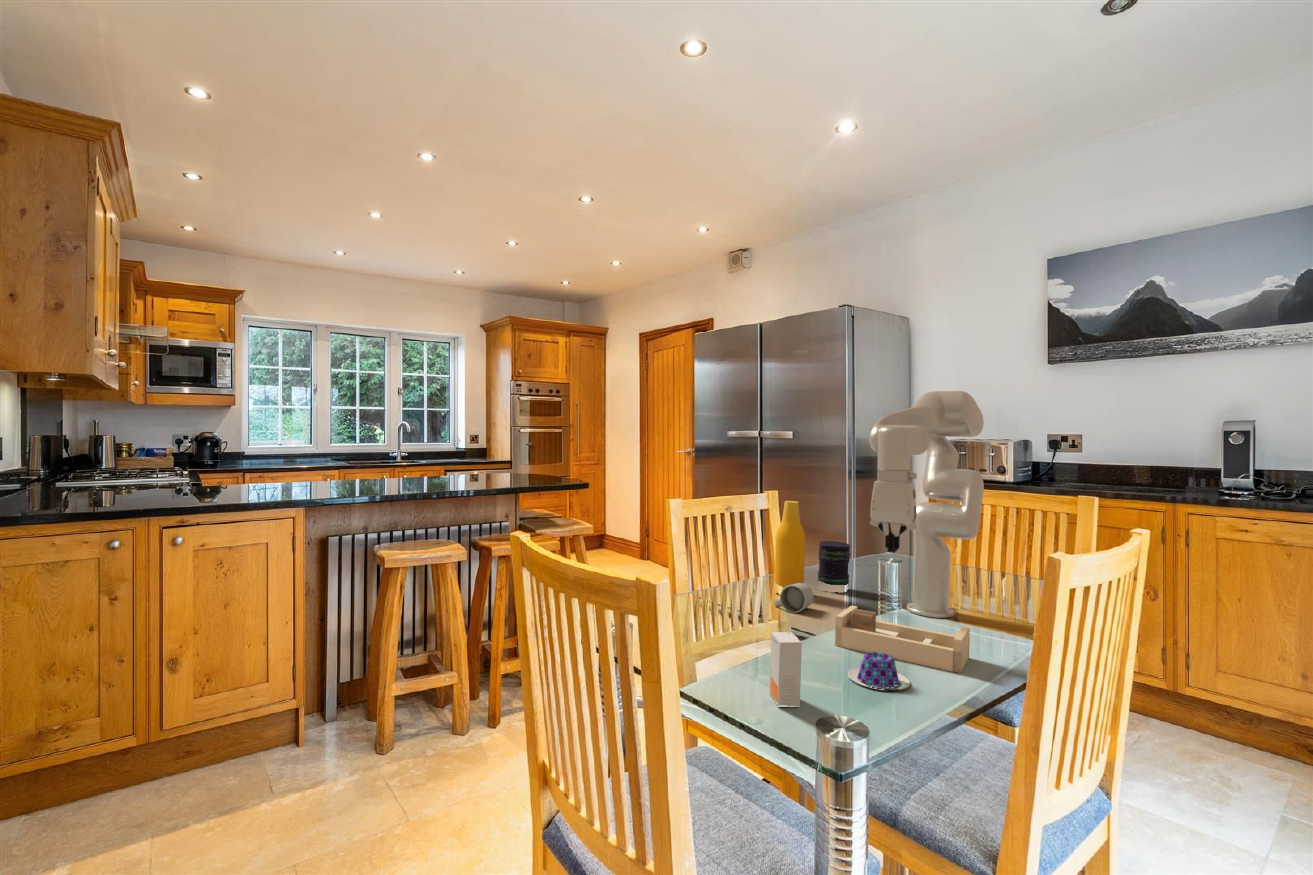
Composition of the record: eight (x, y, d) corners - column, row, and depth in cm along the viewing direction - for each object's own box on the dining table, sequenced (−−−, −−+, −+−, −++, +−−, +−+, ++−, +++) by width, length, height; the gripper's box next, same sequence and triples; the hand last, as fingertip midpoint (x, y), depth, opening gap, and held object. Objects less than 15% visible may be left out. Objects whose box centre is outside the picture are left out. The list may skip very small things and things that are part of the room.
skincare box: (768, 694, 117) (770, 631, 117) (790, 694, 118) (792, 631, 118) (777, 708, 111) (779, 642, 111) (800, 708, 112) (802, 642, 112)
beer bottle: (802, 598, 189) (805, 503, 189) (771, 595, 192) (774, 501, 192) (805, 591, 198) (808, 501, 197) (775, 588, 201) (778, 499, 200)
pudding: (902, 699, 118) (903, 672, 118) (839, 683, 125) (840, 657, 125) (915, 679, 128) (916, 654, 128) (857, 666, 134) (857, 642, 134)
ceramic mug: (815, 608, 178) (815, 582, 178) (805, 615, 171) (805, 587, 171) (780, 603, 184) (780, 577, 184) (769, 609, 177) (769, 582, 177)
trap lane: (850, 632, 157) (851, 605, 156) (968, 657, 141) (970, 627, 141) (834, 645, 147) (835, 615, 147) (960, 673, 131) (961, 640, 131)
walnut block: (856, 627, 151) (857, 608, 151) (875, 630, 149) (876, 612, 149) (851, 631, 148) (852, 613, 148) (871, 635, 145) (871, 616, 145)
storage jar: (818, 592, 198) (820, 545, 198) (815, 584, 207) (817, 540, 207) (850, 594, 196) (852, 547, 196) (846, 587, 206) (848, 542, 206)
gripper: (929, 477, 150) (928, 552, 151) (866, 473, 158) (865, 544, 159) (923, 480, 144) (921, 558, 144) (858, 476, 152) (857, 550, 153)
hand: (892, 551), depth 152 cm, fingers closed
